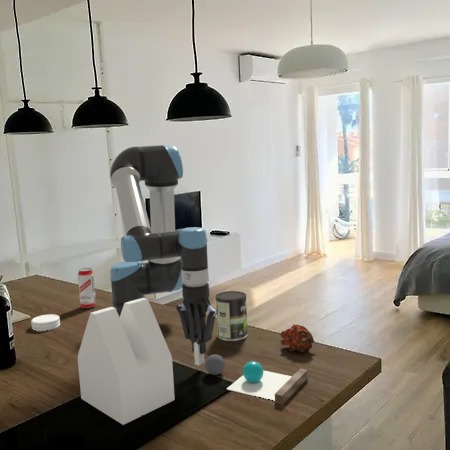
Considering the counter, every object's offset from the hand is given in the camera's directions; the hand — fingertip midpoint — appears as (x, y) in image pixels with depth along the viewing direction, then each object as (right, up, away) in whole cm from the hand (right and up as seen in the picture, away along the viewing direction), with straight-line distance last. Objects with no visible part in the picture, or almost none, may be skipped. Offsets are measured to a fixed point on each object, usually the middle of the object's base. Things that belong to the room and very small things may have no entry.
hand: (199, 363), depth 144 cm
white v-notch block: (-18, -5, -15) cm, 24 cm away
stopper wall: (+24, -3, -14) cm, 29 cm away
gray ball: (+4, +1, -3) cm, 6 cm away
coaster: (-59, +1, +43) cm, 73 cm away
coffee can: (+10, +2, +26) cm, 28 cm away
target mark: (+17, -3, -10) cm, 20 cm away
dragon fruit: (+29, +1, +12) cm, 31 cm away
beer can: (-49, +5, +65) cm, 82 cm away
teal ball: (+15, 0, -9) cm, 17 cm away
